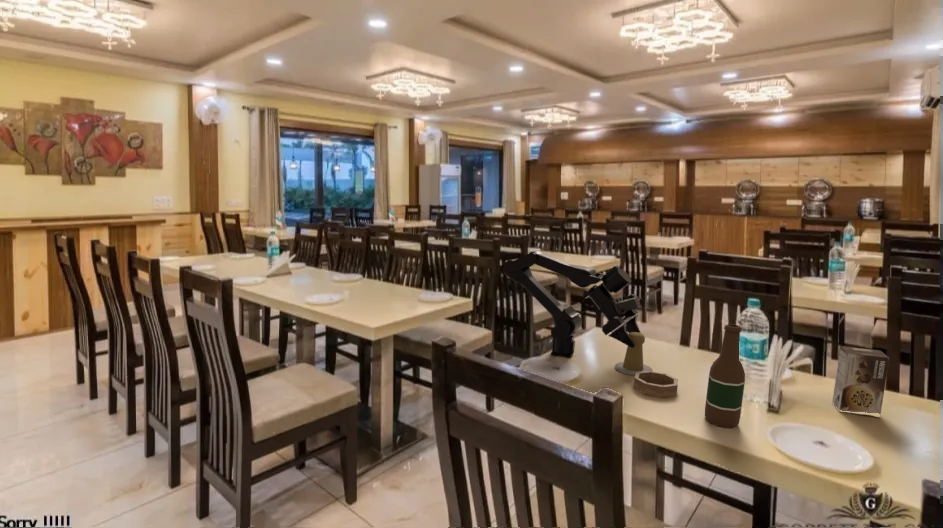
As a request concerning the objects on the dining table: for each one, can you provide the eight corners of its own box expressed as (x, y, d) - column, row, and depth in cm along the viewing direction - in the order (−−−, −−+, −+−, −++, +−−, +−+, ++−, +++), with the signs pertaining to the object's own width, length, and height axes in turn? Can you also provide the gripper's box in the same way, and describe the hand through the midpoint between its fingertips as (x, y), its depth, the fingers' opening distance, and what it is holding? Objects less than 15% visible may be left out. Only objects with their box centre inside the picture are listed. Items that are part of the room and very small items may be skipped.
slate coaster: (612, 372, 157) (612, 370, 157) (617, 361, 167) (617, 359, 167) (651, 378, 153) (651, 376, 153) (653, 367, 163) (653, 365, 163)
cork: (647, 370, 158) (651, 335, 157) (630, 371, 157) (633, 336, 155) (635, 363, 164) (638, 329, 162) (618, 364, 162) (622, 330, 160)
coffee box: (870, 408, 139) (881, 350, 136) (880, 418, 133) (891, 357, 130) (830, 402, 141) (839, 345, 139) (838, 412, 135) (848, 352, 133)
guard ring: (632, 392, 143) (633, 381, 142) (636, 378, 153) (636, 368, 153) (676, 400, 139) (677, 389, 138) (677, 385, 149) (678, 375, 148)
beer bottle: (737, 431, 122) (750, 332, 118) (701, 422, 126) (712, 326, 122) (740, 419, 128) (753, 325, 125) (706, 411, 132) (717, 319, 129)
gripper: (616, 291, 151) (651, 335, 147) (633, 282, 167) (666, 322, 163) (587, 313, 156) (621, 356, 152) (607, 302, 172) (638, 341, 168)
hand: (637, 343), depth 159 cm, fingers open, 9 cm apart
